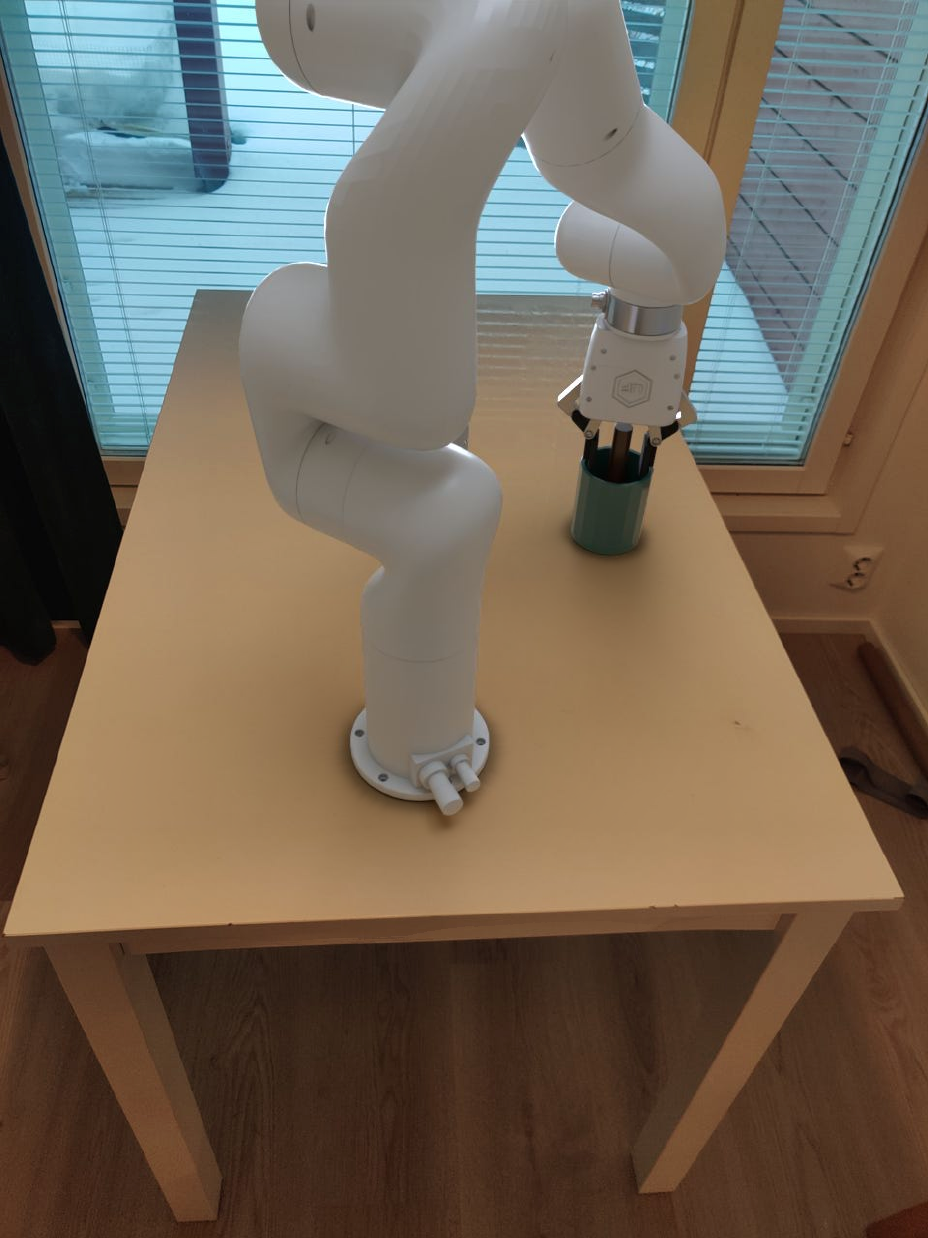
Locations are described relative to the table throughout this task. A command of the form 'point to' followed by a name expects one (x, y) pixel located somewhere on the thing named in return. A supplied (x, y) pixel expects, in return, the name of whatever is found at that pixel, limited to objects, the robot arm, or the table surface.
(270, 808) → the table surface
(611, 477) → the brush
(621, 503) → the cup
